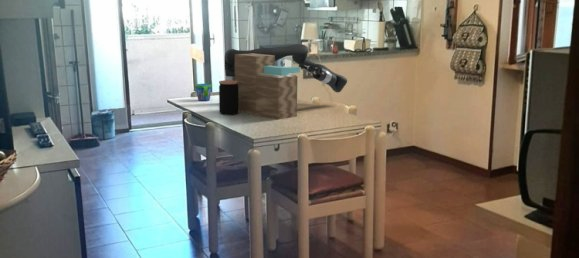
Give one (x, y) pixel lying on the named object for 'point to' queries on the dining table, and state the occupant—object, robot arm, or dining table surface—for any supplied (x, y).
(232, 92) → the coffee jar
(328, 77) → the robot arm
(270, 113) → the step shelf
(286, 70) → the t bar
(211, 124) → the dining table surface
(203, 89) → the snack cup
